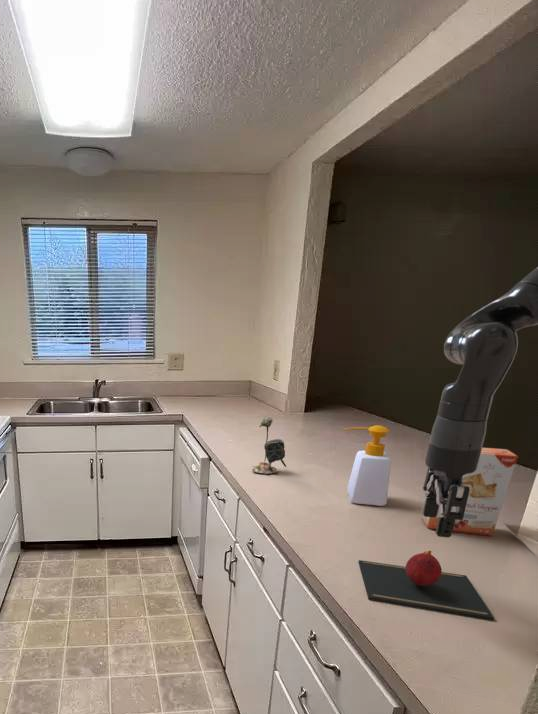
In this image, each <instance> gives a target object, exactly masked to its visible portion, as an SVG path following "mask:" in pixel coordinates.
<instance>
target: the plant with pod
mask: <svg viewBox="0 0 538 714" xmlns="http://www.w3.org/2000/svg"><path fill="white" fill-rule="evenodd" d="M272 424H273V418H272V417H269V416H268V415H264V417H263V419H261V422H260V425H259V428H261V427H266V438H265V439H266V440H265V443H264V446H263V448H264V452H265V455H264V462H263V461H260V462H259V465H256V466H252V472H254V473H258V474H265V475H267V474H276V473H279V472H278V469H277V468H276V467H275V466H272V463H275V462H279V461H280V463H282V465H283V466H284V467H285V468H287V465H286V463H285V461H284V458H285V457H286V450H285V441H284V440H283V439H280V438H275V439H270V440H269V428H270V427H271V426H272ZM266 460H267V462H266Z"/></svg>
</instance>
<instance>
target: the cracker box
mask: <svg viewBox="0 0 538 714" xmlns="http://www.w3.org/2000/svg"><path fill="white" fill-rule="evenodd" d="M518 459H519V455H517V454H516V453H514V452H513V451H511V450H509V449H507V448H494V447H482V450H481V454H480V458H479V462H478V465H477V469H476V471H475V472H473V473H470V474H465V475H463V476H462V482H463V486H468V487H469V489H470V491H469V495H468V499H467V504H466V508H465V512H464V517H463V520H455V523H454V527H453V531H452V532H457V533H464V534H465V533H466V534H472V535H482V536H488V537H489V536H490V537H491V536H493V534H494V531H495V528H496V525H497V522H498V519H499V516H500V513H501V511H502V507H503V504H504V501H505V498H506V495H507V492H508V489H509V486H510V483H511V480H512V477H513V474H514V470H515V468H516V465H517V462H518ZM445 500H447V499H445ZM445 508H446V506H445ZM451 512H453V507H452V508H451ZM439 517H440V506H439V509H438V513H437V516H436V517H425V516H424V515H423V514H422V515H421V520H422V522H423V523H424V525H425V527H426V528H427V529H431V530H432V529H433V530H436V529H437V525H438V521H439Z"/></svg>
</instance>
